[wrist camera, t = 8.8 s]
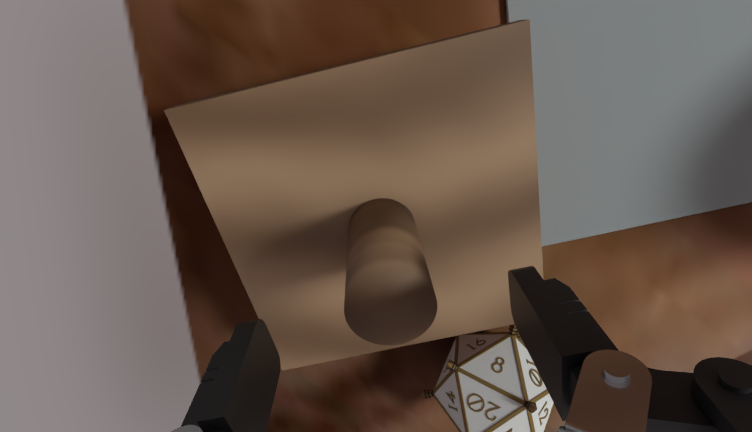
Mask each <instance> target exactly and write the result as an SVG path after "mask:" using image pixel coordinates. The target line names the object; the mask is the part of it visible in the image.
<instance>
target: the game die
mask: <svg viewBox="0 0 752 432" xmlns="http://www.w3.org/2000/svg"><path fill="white" fill-rule="evenodd" d="M509 329H510V332H498V333H468V334H463V335H458V336H456V337H455V339H454V342H453V344H452V347H451V349H450V351H449V354H448V356H447V358H446V361H445V363H444V365H443V368H442V370H441V372H440V375H439V377H438V379H437V382H436V384H435V387H434V389H433V391H430V390H427V391H426V390H424V392H422V393H421V394H420V395H422V396H424V397H425V398H426V399H427V398H428V397H429V398H430V397H432V396H434V397H435V399H436V400H437V402H438V403H439V404H440V406H441V407H442V408H443V410H444V411H445V413H446V414H447V415H448V417H449V418H450V420H451V421H452V422H453V424H454V425H455V426H456V428H457V429H458V431H459V432H545V431H546V428H547V425H548V422H549V419H550V416H551V413H552V410H553V407H554V403H553V401H552V399H551V397H550V395H549V393H548V391H547V389H546V387H545V385H544V383H543V381H542V379H541V377H540V375H539V372H538V370H537V368H536V366H535V364H534V362H533V360H532V358H531V356H530V354H529V352H528V350H527V348H526V346H525V344H524V343H523V342H522V341H521V340H520V337H519V336H518V334H517V335H515V334H516V332H518V331H517V328H516V326H515V324H513V325H510V328H509Z"/></svg>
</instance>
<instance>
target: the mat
mask: <svg viewBox="0 0 752 432" xmlns="http://www.w3.org/2000/svg"><path fill="white" fill-rule="evenodd" d="M505 1H506V14H507V23H510V22H514V21H518V20H530V34H531V53H532V72H533V91H534V110H535V129H536V148H537V166H538V185H539V204H540V223H541V242H542V246H546V245H551V244H556V243H561V242H565V241H570V240H575V239H580V238H584V237H589V236H594V235H599V234H603V233H608V232H613V231H618V230H622V229H627V228H632V227H636V226H641V225H646V224H651V223H655V222H660V221H665V220H670V219H674V218H679V217H684V216H689V215H693V214H698V213H703V212H708V211H712V210H717V209H722V208H727V207H731V206H736V205H741V204H746V203H750V202H752V0H505Z"/></svg>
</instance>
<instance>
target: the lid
mask: <svg viewBox="0 0 752 432" xmlns="http://www.w3.org/2000/svg"><path fill="white" fill-rule="evenodd" d="M164 112H165V114H166V116H167V118H168V120H169V123H170V125H171V127H172V129H173V131H174V134H175V136H176V138H177V140H178V142H179V145H180V147H181V149H182V151H183V153H184V156H185V158H186V160H187V162H188V164H189V167H190V169H191V171H192V173H193V175H194V178H195V180H196V182H197V184H198V186H199V189H200V191H201V193H202V195H203V197H204V199H205V202H206V204H207V206H208V208H209V210H210V213H211V215H212V217H213V219H214V221H215V224H216V226H217V228H218V230H219V232H220V235H221V237H222V239H223V241H224V243H225V246H226V248H227V250H228V252H229V254H230V257H231V259H232V261H233V263H234V265H235V268H236V270H237V272H238V274H239V276H240V279H241V281H242V283H243V285H244V287H245V290H246V292H247V294H248V296H249V298H250V301H251V303H252V305H253V307H254V309H255V312H256V314H257V316H258V318H259V319H262V320H263V321H264V322H265V324H266V326H267V328H268V331H269V333H270V335H271V337H272V339H273V342H274V344H275V346H276V348H277V350H278V353H279V357H280V366H281V369H282V370H287V369H292V368H297V367H302V366H307V365H312V364H317V363H322V362H327V361H332V360H337V359H342V358H347V357H352V356H357V355H362V354H367V353H372V352H377V351H382V350H387V349H392V348H397V347H402V346H407V345H412V344H418V343H423V342H428V341H433V340H438V339H443V338H448V337H453V336H458V335H463V334H468V333H473V332H478V331H483V330H488V329H493V328H498V327H503V326H508V325H513V324H515V323H514V320H513V317H512V312H511V305H510V294H509V282H508V271H509V270H513V269H518V268H523V267H528V266H534V267H535V268H536V270H537V271H538V273H539V274H540V275H541V277H542V278H543V261H542V242H541V223H540V204H539V185H538V166H537V148H536V129H535V110H534V91H533V72H532V53H531V34H530V20H518V21H514V22H510V23H506V24H502V25H498V26H494V27H490V28H486V29H482V30H478V31H474V32H470V33H466V34H462V35H458V36H454V37H450V38H446V39H441V40H437V41H433V42H429V43H425V44H421V45H417V46H413V47H409V48H405V49H401V50H397V51H393V52H389V53H385V54H381V55H377V56H373V57H369V58H365V59H361V60H357V61H353V62H349V63H345V64H341V65H337V66H333V67H329V68H325V69H321V70H317V71H313V72H309V73H305V74H301V75H297V76H293V77H289V78H285V79H281V80H277V81H273V82H269V83H265V84H261V85H256V86H252V87H248V88H244V89H240V90H236V91H232V92H228V93H224V94H220V95H216V96H212V97H208V98H204V99H200V100H196V101H192V102H188V103H184V104H180V105H176V106H173V107H171V108H168V109H166V110H164Z"/></svg>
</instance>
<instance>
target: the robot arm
mask: <svg viewBox="0 0 752 432" xmlns="http://www.w3.org/2000/svg"><path fill="white" fill-rule="evenodd" d="M508 282H509V294H510V305H511V312H512V317H513V320H514V323H515V326H516V328H517V330H518V332H519V334H520V336H521V338H522V340H523V342H524V344H525V346H526V348H527V350H528V352H529V354H530V356H531V358H532V360H533V362H534V364H535V366H536V368H537V370H538V372H539V375H540V377H541V379H542V381H543V383H544V385H545V387H546V389H547V391H548V393H549V395H550V397H551V399H552V401H553V403H554V405H555V407H556V409H557V411H558V413H559V415H560V417H561V419H562V421H565V420H566V422H565V425H564V427H562V426H560V427H559V429H558V431H557V432H752V366H751V365H749V364H746V363H744V362H741V361H738V360H734V359H729V358H720V357H716V358H708V359H705V360H702V361H700V362H699V363H698V364H697V365H696V366H695V368H694V372H693V373H686V372H674V371H662V370H655V369H651V368H647V367H646V366H645V365H644V364H643V363H642V362H641V361H640V360H638V359H637V358H635V357H633V356H632V355H629V354H627V353H624V352H621V351H619V350H618V349H617V348H616V347H615V345H614V344H613V343H612V341H611V340H610V339H609V337H608V336H607V335H606V334H605V332H604V331H603V330H602V328H601V327H600V326H599V325H598V323H597V322H596V321H595V319H594V318H593V317H592V316H591V314H590V313H589V312H587V309H586V308H585V306H584V305H583V304H582V303H581V302H580V301H579V299H578V297H577V296H576V295H575V294H574V292H573V291H572V290H571V288H570V287H568V286H567V285H565V284H563V283H562V282H560V281H558V280H557V279H555V278H554V279H549V280H543V278H542V277H541V275H540V274H539V273H538V271H537V270H536V268H535V267H534V266H528V267H523V268H518V269H513V270H509V271H508ZM206 370H207V372H205V374H204V376H203V378H202V380H201V382H202V383H201V384H200V385H199V387H198V389H197V392H196V394H195V396H194V398H193V401H192V403H191V405H190V407H189V410H188V412H187V414H186V416H185V419H184V421H183V423H182V425H181V427H179V428H177V429H175V430H173V431H172V432H266V430H267V426H268V421H269V417H270V413H271V408H272V404H273V400H274V396H275V391H276V387H277V383H278V379H279V374H280V357H279V353H278V350H277V348H276V346H275V344H274V342H273V339H272V337H271V335H270V333H269V331H268V328H267V326H266V324H265V322H264V321H263V320H262V319H258V320H253V321H248V322H243V323H238V324H237V325H236V327H235V330H234V332H233V335H232V337H231V340H230V341H228V342H224V343H223V344H222V345H221V346H220V348H219V349H218V350H217V351H216V352H215V353H214V355H213V356H212V358H211V360H210V363H209V365H208V367H207V369H206Z"/></svg>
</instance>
